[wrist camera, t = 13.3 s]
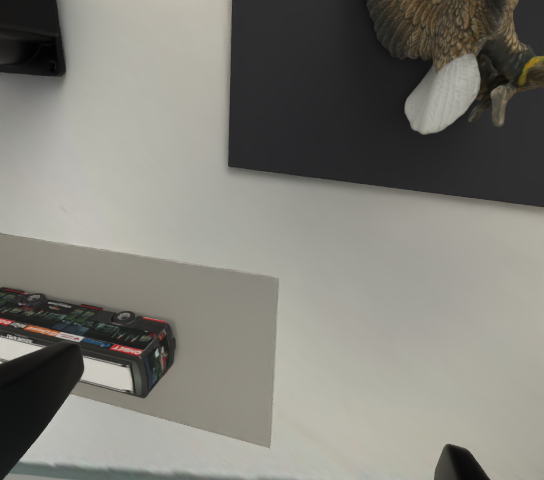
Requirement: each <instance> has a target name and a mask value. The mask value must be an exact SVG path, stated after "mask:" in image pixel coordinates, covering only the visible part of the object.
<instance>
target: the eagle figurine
mask: <svg viewBox="0 0 544 480" xmlns="http://www.w3.org/2000/svg"><path fill="white" fill-rule="evenodd" d="M518 1H519V0H367V8H368V10H369V12H370V17H371V19H372V20H373V21H374V22H375V25H374V30H375V32H376V33H377V39H378V40H379V41H380V42H381V44H382V46H383V47H384V48H386V49H388V50H389V51H390V54H391V56H393V57H398V58H399V59H401V60H402V59H404V58H405V57H410V58H411V59H416V58H418V57H419V56H421V58H422V59H423V60H431V59H433V65H432V66H431V68H430V70H429V71H428V73H427V74H426V75H425V77H424V78H423V79H422V81H421V82H420V84H419V85H418V86H417V87H416V88H415V89H414V91H413V92H412V93H411V94H410V96H409V97H408V98H407V100H406V103H405V114H406V116H407V118H408V120H409V121H410V126H411V128H412V129H413V130H415V131H418V132H420V133H421V134H423V135H426V134H429V133H437V132H440V131H442V130H443V129H445V128H446V127H447V126H449V125H450V124H452V123H453V122H454V121H455V120H456V119H458V118H459V117H460V116H461V115H463V114H464V113H465V112H466V110H467V109H468V108H469V106H470V105H471V103H472V102H473V101H474V99H476V100H480V102H479V103H478V104H477V106H476V107H475V108H474V109H473V110H472V111H471V113H470V115H469V118H468V121H469V122H473V121H476V120H477V119H478V118H479V117H480V116H481V115H482V113H483V112H484V111H485V110H487V109H489V108H491V107H492V123H493V125H494V126H495V127H501V126H503V124H504V117H505V108H506V105H507V102H508V100H510V99H511V98H512V97H513V96H514V94H515V93H516V92H521V91H525V90H530V89H535V88H540V87H544V56H536V55H535V54H534V52H533V50H532V48H531V47H530V46H528V45H526V44H523V43H521V42H520V41H519V40H518V37H517V34H516V32H515V28H514V23H513V10H514V9H515V7H516V5H517V3H518ZM490 59H491V60H492V63H491V61H490Z"/></svg>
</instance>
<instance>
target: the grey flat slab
mask: <svg viewBox="0 0 544 480" xmlns="http://www.w3.org/2000/svg"><path fill="white" fill-rule="evenodd" d="M277 299H278V277H271V276H265V275H259V274H252V273H246V272H240V271H233V270H227V269H221V268H214V267H208V266H202V265H195V264H189V263H183V262H176V261H170V260H164V259H157V258H151V257H145V256H138V255H132V254H126V253H119V252H113V251H107V250H100V249H94V248H88V247H81V246H75V245H68V244H62V243H56V242H49V241H43V240H37V239H30V238H24V237H18V236H11V235H5V234H0V361H1V362H2V363H4V362H7V361H10V360H12V359H15V358H18V357H20V356H23V355H26V354H28V353H31V352H34V351H36V350H39V349H42V348H45V347H47V346H50V345H53V344H55V343H58V342H61V341H71V342H74V343H78V344H79V345H80V346H81V350H82V355H83V361H84V373H83V375H82V377H81V379H80V380H79V382H78V383H77V384H76V386H75V387H74V389H73V390H72V391H71V393H70V394H74V395H77V396H81V397H85V398H88V399H92V400H96V401H99V402H103V403H107V404H110V405H114V406H118V407H121V408H125V409H129V410H132V411H136V412H140V413H143V414H147V415H151V416H154V417H158V418H162V419H165V420H169V421H173V422H176V423H180V424H184V425H187V426H191V427H195V428H198V429H202V430H206V431H209V432H213V433H217V434H220V435H224V436H228V437H231V438H235V439H239V440H242V441H246V442H250V443H253V444H257V445H261V446H264V447H268V448H270V446H271V425H272V404H273V383H274V362H275V341H276V320H277Z"/></svg>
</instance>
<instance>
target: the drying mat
mask: <svg viewBox="0 0 544 480" xmlns="http://www.w3.org/2000/svg"><path fill="white" fill-rule="evenodd" d="M513 23H514V28H515V32H516V34H517V37H518V40H519V41H520V42H521V43H523V44H526V45H528V46H530V47H531V48H532V50H533V52H534V54H535V55H536V56H544V0H519V1H518V3H517V5H516V7H515V9H514V10H513ZM374 25H375V22H374V21H373V20H372V19H371V17H370V12H369V10H368V8H367V0H232V36H231V78H230V119H229V161H228V166H229V167H236V168H244V169H252V170H259V171H267V172H275V173H283V174H290V175H298V176H306V177H314V178H322V179H329V180H337V181H345V182H353V183H360V184H368V185H376V186H384V187H392V188H399V189H407V190H415V191H423V192H430V193H438V194H446V195H454V196H461V197H469V198H477V199H485V200H493V201H500V202H508V203H516V204H524V205H531V206H539V207H544V87H540V88H535V89H530V90H525V91H521V92H516V93H515V94H514V96H513V97H512V98H511V99H510V100H508V102H507V105H506V108H505V117H504V124H503V126H501V127H495V126H494V125H493V123H492V107H491V108H489V109H487V110H485V111H484V112H483V113H482V115H481V116H480V117H479V118H478V119H477V120H476V121H473V122H469V121H468V118H469V115H470V113H471V111H472V110H473V109H474V108H475V107H476V106H477V104H478V103H479V102H480V100H476V99H474V101H473V102H472V103H471V105H470V106H469V108H468V109H467V110H466V112H465V113H464V114H463V115H461V116H460V117H459V118H458V119H456V120H455V121H454V122H453V123H452V124H450V125H449V126H447V127H446V128H445V129H443V130H442V131H440V132H437V133H429V134H426V135H423V134H421V133H420V132H418V131H415V130H413V129H412V128H411V126H410V121H409V120H408V118H407V116H406V114H405V103H406V100H407V98H408V97H409V96H410V94H411V93H412V92H413V91H414V89H415V88H416V87H417V86H418V85H419V84H420V82H421V81H422V79H423V78H424V77H425V75H426V74H427V73H428V71H429V70H430V68H431V66H432V65H433V59H431V60H423V59H422V58H421V56H419V57H418V58H416V59H411V58H410V57H405V58H404V59H402V60H401V59H399V58H398V57H393V56H391V54H390V51H389V50H388V49H386V48H384V47H383V46H382V44H381V42H380V41H379V40H378V39H377V33H376V32H375V30H374ZM490 61H491V63H492V60H491V59H490Z"/></svg>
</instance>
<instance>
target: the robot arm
mask: <svg viewBox="0 0 544 480" xmlns="http://www.w3.org/2000/svg"><path fill="white" fill-rule="evenodd" d="M54 63H55V66H56V69H55V68H54ZM0 72H4V73H16V74H29V75H42V76H54V77H61V76H63V75H64V74H65V61H64V54H63V47H62V40H61V33H60V26H59V19H58V12H57V5H56V0H0ZM83 373H84V361H83V355H82V350H81V346H80V345H79V344H78V343H74V342H71V341H61V342H58V343H55V344H53V345H50V346H47V347H45V348H42V349H39V350H36V351H34V352H31V353H28V354H26V355H23V356H20V357H18V358H15V359H12V360H10V361H7V362H4V363H2V364H0V480H3V479H4V478H5V476H6V475H7V474H8V473H9V472H10V471H11V469H12V468H13V467H14V466H15V465H16V463H17V462H18V461H19V460H20V459H21V457H22V456H23V455H24V454H25V453H26V451H27V450H28V449H29V448H30V447H31V445H32V444H33V443H34V442H35V441H36V439H37V438H38V437H39V436H40V434H41V433H42V432H43V431H44V429H45V428H46V427H47V425H48V424H49V423H50V421H51V420H52V418H53V417H54V416H55V414H56V413H57V411H58V410H59V408H60V407H61V406H62V404H63V403H64V401H65V400H66V399H67V397H68V396H69V394H70V393H71V391H72V390H73V389H74V387H75V386H76V384H77V383H78V382H79V380H80V379H81V377H82V375H83ZM434 480H490V479H489V477H488V476H487V474H486V473H485V472H484V470H483V469H482V468H481V466H480V465H479V463H478V462H477V461H476V459H475V458H474V457H473V455H472V454H471V453H470V452H469V451H468V450H467V449H465V448H462V447H459V446H455V445H451V444H447V445H445V446H444V448H443V451H442V453H441V456H440V458H439V461H438V464H437V466H436V469H435V475H434Z"/></svg>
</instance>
